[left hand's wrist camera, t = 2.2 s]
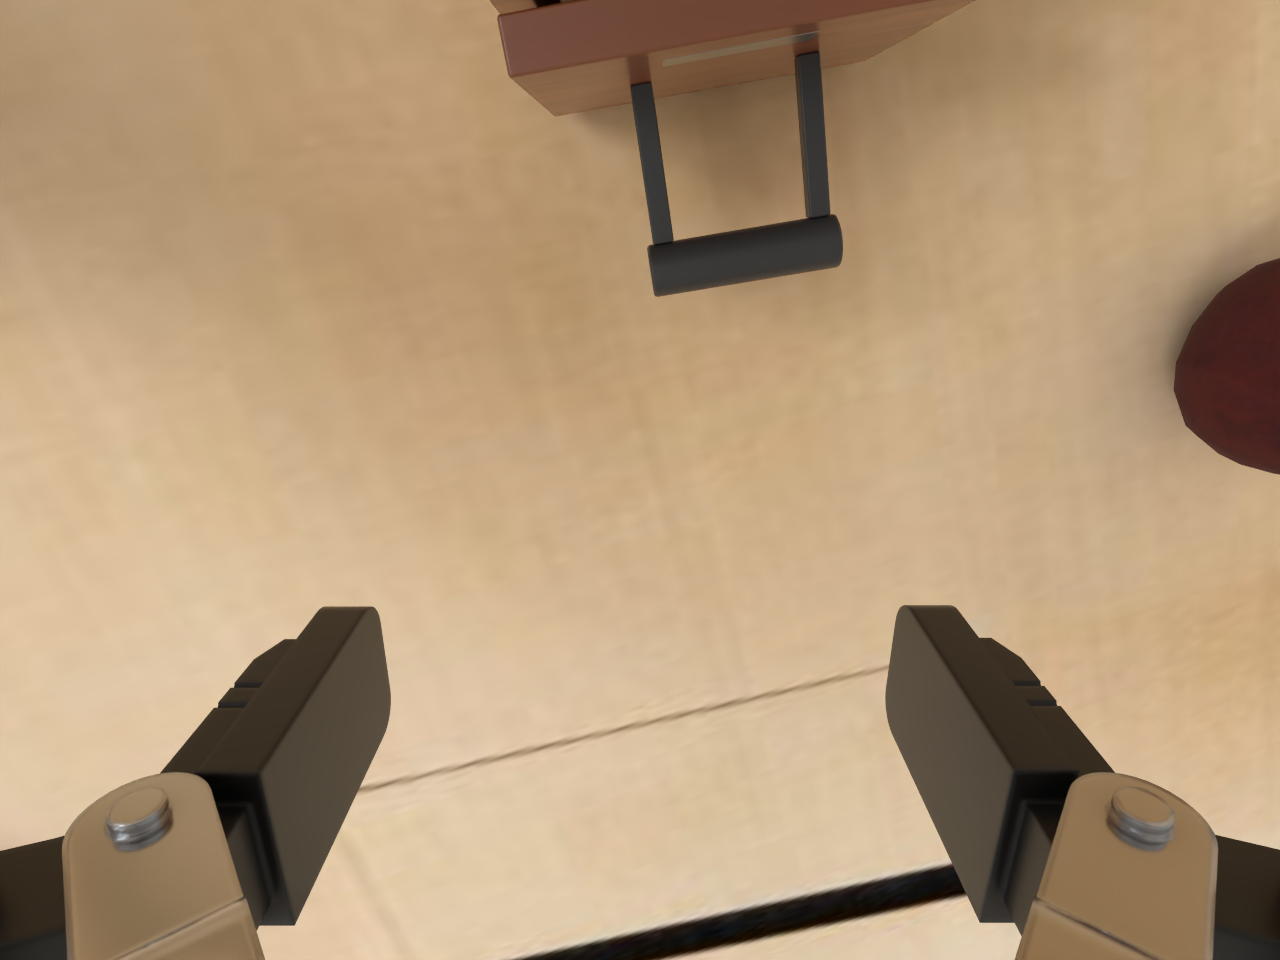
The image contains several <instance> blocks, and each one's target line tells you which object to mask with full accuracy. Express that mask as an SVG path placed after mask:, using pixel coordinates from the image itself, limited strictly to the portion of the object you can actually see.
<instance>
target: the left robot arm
mask: <svg viewBox="0 0 1280 960" xmlns="http://www.w3.org/2000/svg"><path fill="white" fill-rule="evenodd" d="M390 706H391V693H390V685H389V678H388V671H387V664H386V657H385V650H384V643H383V636H382V629H381V623H380V618H379V614H378V612H377V610H376V609H375V608H374V607H322V608H321V609H320V610H319V611H318V612H317V613H316V614H315V616H314V617H313V618H312V620H311V621H310V622H309V624H308V625H307V626H306V627H305V629H304V630H303V631H302V633H301V634H300V635H299V637H298V638H297V639H284V640H283V641H281V642H280V643H278V644H277V645H275V646H274V647H272V648H271V649H269V650H268V651H266V652H265V653H263V654H262V655H260V656H259V657H257V658H256V659H254V660H253V661H252V663H251V664H250V665H249V666H248V667H247V669H246V670H245V671H244V672H243V673H242V675H241V676H240V677H239V678H238V680H237V681H236V682H235V686H234V688H230V689H229V690H228V692H227V693H226V694H225V695H224V696H223V698H222V699H221V700H220V701H219V703H218V708H214V709H213V710H212V711H211V712H210V713H209V715H208V716H207V717H206V718H205V720H204V721H203V722H202V723H201V724H200V726H199V727H198V728H197V729H196V730H195V732H194V733H193V734H192V735H191V736H190V738H189V739H188V740H187V741H186V743H185V744H184V745H183V746H182V747H181V749H180V750H179V751H178V752H177V753H176V755H175V756H174V757H173V758H172V760H171V761H170V762H169V763H168V764H167V766H166V767H165V768H164V769H163V770H162V772H161V773H160V774H156V775H152V776H147V777H144V778H141V779H138V780H135V781H132V782H130V783H127V784H125V785H123V786H121V787H119V788H117V789H115V790H113V791H111V792H109V793H107V794H106V795H104V796H103V797H101V798H100V799H98V800H97V801H95V802H94V803H93V804H91V805H90V806H89V807H87V808H86V809H85V810H84V811H83V812H82V813H81V814H80V815H79V816H78V817H77V818H76V819H75V821H74V822H73V823H72V824H71V826H70V827H69V829H68V831H67V832H66V834H65V836H62V837H58V838H54V839H50V840H46V841H42V842H37V843H33V844H29V845H24V846H20V847H16V848H12V849H7V850H3V851H0V960H265V958H264V954H263V951H262V948H261V945H260V941H259V938H258V935H257V932H256V931H257V929H258V927H259V925H295V923H296V921H297V919H298V917H299V915H300V913H301V911H302V909H303V906H304V904H305V902H306V900H307V898H308V896H309V894H310V892H311V889H312V887H313V885H314V883H315V881H316V879H317V877H318V875H319V872H320V870H321V868H322V866H323V864H324V862H325V860H326V858H327V855H328V853H329V851H330V849H331V847H332V845H333V843H334V841H335V838H336V836H337V834H338V832H339V830H340V828H341V826H342V824H343V821H344V819H345V817H346V815H347V813H348V811H349V809H350V807H351V804H352V802H353V800H354V798H355V796H356V794H357V792H358V790H359V787H360V785H361V783H362V781H363V779H364V777H365V775H366V773H367V770H368V768H369V766H370V764H371V762H372V760H373V758H374V756H375V753H376V751H377V749H378V747H379V745H380V743H381V741H382V739H383V736H384V734H385V732H386V729H387V725H388V721H389V715H390ZM886 712H887V718H888V723H889V726H890V730H891V732H892V735H893V737H894V739H895V741H896V743H897V745H898V747H899V750H900V752H901V754H902V756H903V758H904V760H905V763H906V765H907V767H908V769H909V771H910V773H911V775H912V778H913V780H914V782H915V784H916V786H917V788H918V790H919V793H920V795H921V797H922V799H923V801H924V803H925V806H926V808H927V810H928V812H929V814H930V816H931V818H932V821H933V823H934V825H935V827H936V829H937V831H938V834H939V836H940V838H941V840H942V842H943V844H944V846H945V849H946V851H947V853H948V855H949V857H950V859H951V861H952V864H953V866H954V868H955V870H956V872H957V874H958V877H959V879H960V881H961V883H962V885H963V887H964V889H965V892H966V894H967V896H968V898H969V900H970V902H971V904H972V907H973V909H974V911H975V913H976V915H977V917H978V920H979V922H980V923H1015V924H1016V926H1017V928H1018V930H1019V932H1020V934H1021V936H1022V938H1021V941H1020V945H1019V948H1018V951H1017V954H1016V958H1015V960H1280V850H1278V849H1274V848H1269V847H1265V846H1261V845H1256V844H1252V843H1248V842H1243V841H1239V840H1235V839H1230V838H1226V837H1222V836H1218V835H1215V834H1214V832H1213V831H1212V829H1211V827H1210V826H1209V824H1208V823H1207V822H1206V821H1205V819H1204V818H1203V817H1202V816H1201V815H1200V814H1199V813H1198V812H1197V811H1196V810H1195V809H1194V808H1193V807H1191V806H1190V805H1189V804H1187V803H1186V802H1185V801H1183V800H1182V799H1180V798H1179V797H1177V796H1176V795H1174V794H1173V793H1171V792H1169V791H1167V790H1165V789H1163V788H1161V787H1159V786H1157V785H1155V784H1153V783H1150V782H1148V781H1145V780H1142V779H1139V778H1136V777H1133V776H1128V775H1124V774H1118V773H1115V772H1114V771H1113V770H1112V768H1111V767H1110V766H1109V765H1108V763H1107V762H1106V761H1105V760H1104V759H1103V757H1102V756H1101V755H1100V754H1099V752H1098V751H1097V750H1096V749H1095V748H1094V746H1093V745H1092V744H1091V743H1090V741H1089V740H1088V739H1087V738H1086V737H1085V735H1084V734H1083V733H1082V732H1081V730H1080V729H1079V728H1078V727H1077V726H1076V724H1075V723H1074V722H1073V721H1072V719H1071V718H1070V717H1069V716H1068V715H1067V713H1066V712H1065V711H1064V710H1063V708H1062V707H1061V706H1057V704H1056V700H1055V699H1054V697H1053V696H1052V695H1051V694H1050V693H1049V691H1048V690H1047V689H1046V688H1045V686H1041V684H1040V680H1039V679H1038V678H1037V677H1036V675H1035V674H1034V673H1033V672H1032V670H1031V669H1030V668H1029V667H1028V666H1027V664H1026V663H1025V662H1024V661H1023V659H1022V658H1021V657H1019V656H1018V655H1016V654H1015V653H1013V652H1011V651H1010V650H1008V649H1007V648H1005V647H1004V646H1002V645H1001V644H999V643H998V642H996V641H995V640H993V639H992V638H979V637H978V636H977V635H976V633H975V632H974V631H973V629H972V628H971V627H970V625H969V624H968V623H967V621H966V620H965V619H964V618H963V616H962V615H961V614H960V612H959V611H958V610H957V609H956V608H955V607H954V606H951V605H904V606H902V607H901V608H900V609H899V611H898V613H897V617H896V622H895V629H894V636H893V643H892V650H891V657H890V664H889V671H888V678H887V685H886Z"/></svg>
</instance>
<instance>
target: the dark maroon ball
mask: <svg viewBox="0 0 1280 960" xmlns="http://www.w3.org/2000/svg"><path fill="white" fill-rule="evenodd" d="M1174 392H1175V395H1176V398H1177V401H1178V404H1179V407H1180V410H1181V413H1182V416H1183V419H1184V422H1185V425H1186V426H1187V427H1188V428H1189V429H1190V430H1191V431H1192V432H1194V433H1195V434H1196V435H1197V436H1198V437H1199V438H1200V439H1202V440H1203V441H1204V442H1205V443H1207V444H1208V445H1209V446H1210V447H1211V448H1213V449H1214V450H1215V451H1216V452H1217V453H1219V454H1221V455H1223V456H1225V457H1227V458H1229V459H1231V460H1233V461H1235V462H1237V463H1239V464H1241V465H1245V466H1249V467H1252V468H1256V469H1259V470H1263V471H1267V472H1270V473H1274V474H1280V258H1279V259H1276V260H1273V261H1270V262H1266V263H1263V264H1260V265H1257V266H1255V267H1254V268H1252V269H1251V270H1249V271H1248V272H1246V273H1245V274H1243V275H1242V276H1240V277H1239V278H1237V279H1236V280H1234V281H1233V282H1231V283H1230V284H1228V285H1227V286H1226V287H1225V288H1224V289H1222V290H1221V291H1220V292H1219V293H1218V294H1217V295H1216V296H1215V298H1214V299H1213V300H1212V302H1211V303H1210V304H1209V305H1208V307H1207V308H1206V309H1205V311H1204V312H1203V313H1202V314H1201V316H1200V317H1199V318H1198V320H1197V321H1196V322H1195V323H1194V325H1193V326H1192V328H1191V330H1190V333H1189V335H1188V337H1187V339H1186V342H1185V344H1184V346H1183V348H1182V351H1181V353H1180V355H1179V357H1178V360H1177V362H1176V370H1175V382H1174Z"/></svg>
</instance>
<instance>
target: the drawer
mask: <svg viewBox="0 0 1280 960" xmlns="http://www.w3.org/2000/svg"><path fill="white" fill-rule="evenodd" d="M973 1H975V0H560V3H557V4H552V5H547V6H541V7H536V8H531V9H526V10H520V11H515V12H510V13H504V14H500V15H498V18H497V20H498V25H499V30H500V35H501V40H502V45H503V50H504V55H505V60H506V65H507V70H508V75H509V76H510V78H511V79H513V80H514V81H515V82H516V83H517V84H518V85H519V86H521V87H522V88H523V89H524V90H525V91H526V92H528V93H529V94H530V95H531V96H532V97H533V98H534V99H536V100H537V101H538V102H539V103H540V104H541V105H543V106H544V107H545V108H546V109H547V110H548V111H550V112H551V113H552V114H553V115H554V116H560V115H566V114H571V113H577V112H583V111H588V110H594V109H599V108H605V107H610V106H616V105H622V104H627V103H632V104H633V111H634V118H635V124H636V131H637V138H638V145H639V151H640V158H641V165H642V172H643V178H644V185H645V192H646V198H647V205H648V212H649V219H650V225H651V232H652V239H653V245H649V246H648V248H647V251H648V257H649V264H650V271H651V277H652V284H653V290H654V295H655V296H657V297H659V296H665V295H671V294H677V293H683V292H689V291H695V290H701V289H707V288H713V287H720V286H726V285H732V284H738V283H744V282H750V281H756V280H762V279H768V278H774V277H780V276H786V275H792V274H798V273H804V272H810V271H816V270H822V269H828V268H834V267H837V266H839V265H840V263H841V260H842V254H843V240H842V232H841V227H840V224H839V221H838V219H837V217H836V216H835V215H833V214H830V201H829V185H828V170H827V155H826V139H825V124H824V109H823V93H822V78H821V69H822V68H827V67H833V66H838V65H844V64H849V63H855V62H861V61H865V60H867V59H869V58H871V57H872V56H874V55H876V54H878V53H880V52H882V51H883V50H885V49H887V48H889V47H891V46H893V45H894V44H896V43H898V42H900V41H902V40H903V39H905V38H907V37H909V36H911V35H913V34H914V33H916V32H918V31H920V30H922V29H924V28H925V27H927V26H929V25H931V24H933V23H935V22H936V21H938V20H940V19H942V18H944V17H945V16H947V15H949V14H951V13H953V12H955V11H956V10H958V9H960V8H962V7H964V6H966V5H967V4H969V3H971V2H973ZM794 73H795V77H796V90H797V103H798V116H799V130H800V143H801V156H802V169H803V182H804V195H805V208H806V217H808V218H806V219H800V220H795V221H789V222H783V223H777V224H771V225H765V226H759V227H753V228H747V229H741V230H736V231H730V232H724V233H718V234H712V235H706V236H700V237H694V238H688V239H682V240H676V241H673V232H672V225H671V218H670V211H669V204H668V196H667V189H666V182H665V175H664V168H663V160H662V153H661V146H660V139H659V131H658V124H657V117H656V110H655V103H654V99H655V98H660V97H666V96H672V95H677V94H683V93H688V92H694V91H699V90H705V89H710V88H716V87H722V86H727V85H733V84H738V83H744V82H749V81H755V80H761V79H766V78H772V77H777V76H783V75H788V74H794Z"/></svg>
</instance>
